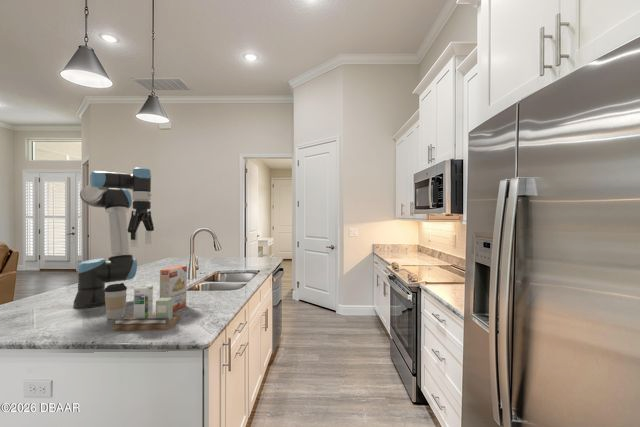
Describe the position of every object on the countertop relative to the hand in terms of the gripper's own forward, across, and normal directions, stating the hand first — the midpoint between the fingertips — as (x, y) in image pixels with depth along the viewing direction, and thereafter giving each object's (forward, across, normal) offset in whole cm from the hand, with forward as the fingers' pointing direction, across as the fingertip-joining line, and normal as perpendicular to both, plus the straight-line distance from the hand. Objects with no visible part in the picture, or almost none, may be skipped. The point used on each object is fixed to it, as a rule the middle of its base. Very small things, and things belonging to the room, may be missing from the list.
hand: (141, 245), depth 154 cm
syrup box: (+31, -15, -8) cm, 35 cm away
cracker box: (+33, +8, -12) cm, 36 cm away
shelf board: (+33, -14, -10) cm, 37 cm away
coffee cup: (+33, -3, +10) cm, 35 cm away
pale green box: (+31, -15, -17) cm, 38 cm away
